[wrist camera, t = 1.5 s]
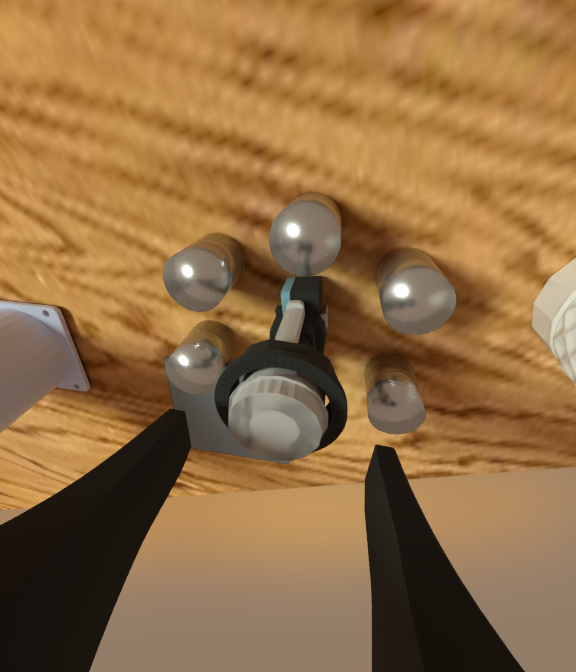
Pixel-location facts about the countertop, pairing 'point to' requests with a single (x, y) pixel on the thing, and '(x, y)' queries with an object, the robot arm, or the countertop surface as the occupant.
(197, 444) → the mat
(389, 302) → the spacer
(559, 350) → the white cup
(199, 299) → the cylinder
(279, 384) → the push button
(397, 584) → the robot arm
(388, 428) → the cylinder
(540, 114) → the countertop surface
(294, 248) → the cylinder
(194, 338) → the cylinder
